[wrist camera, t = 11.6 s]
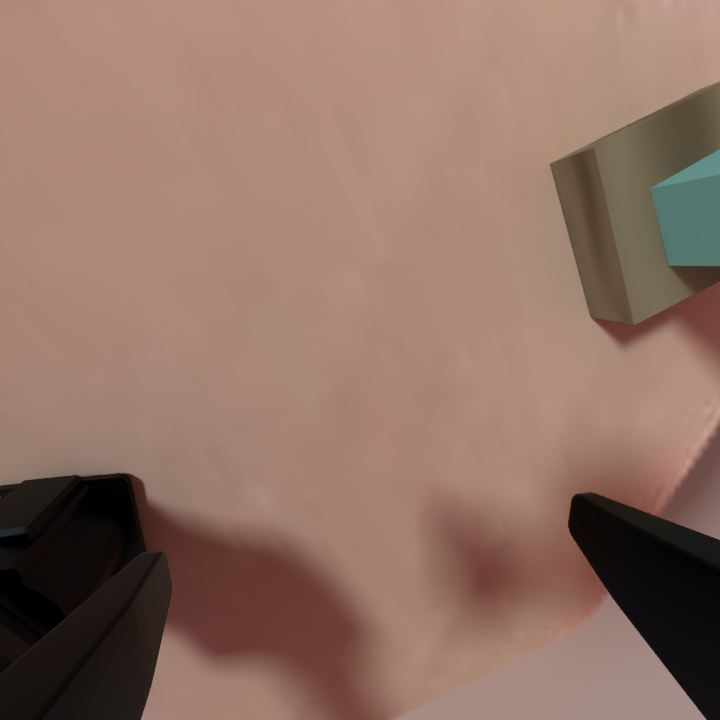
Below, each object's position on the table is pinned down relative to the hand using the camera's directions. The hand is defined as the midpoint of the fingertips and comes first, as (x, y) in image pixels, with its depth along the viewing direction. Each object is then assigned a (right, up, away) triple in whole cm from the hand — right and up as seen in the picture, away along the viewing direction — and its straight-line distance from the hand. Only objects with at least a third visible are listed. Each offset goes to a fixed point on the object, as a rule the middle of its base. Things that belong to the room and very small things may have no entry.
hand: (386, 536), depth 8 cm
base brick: (+15, +12, +14) cm, 24 cm away
